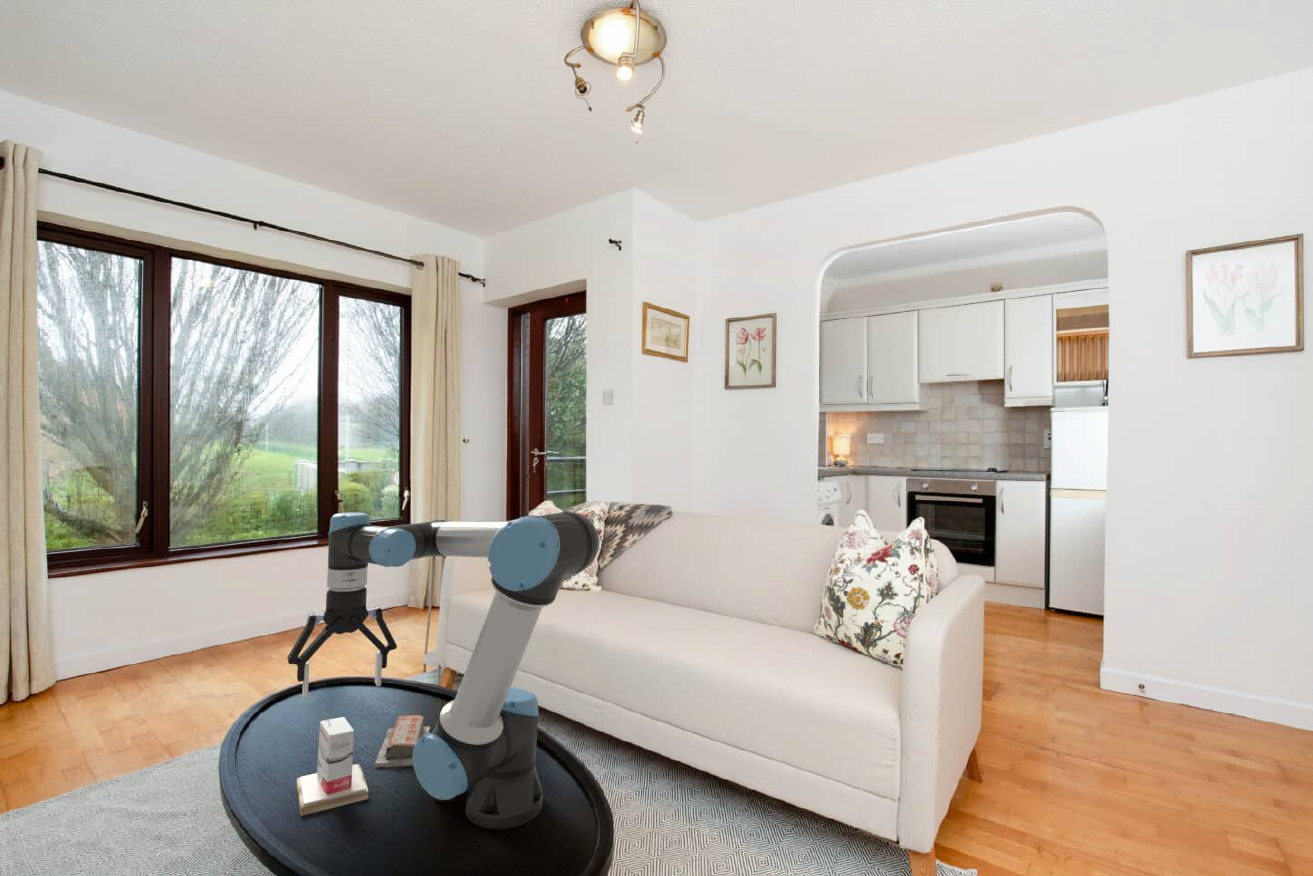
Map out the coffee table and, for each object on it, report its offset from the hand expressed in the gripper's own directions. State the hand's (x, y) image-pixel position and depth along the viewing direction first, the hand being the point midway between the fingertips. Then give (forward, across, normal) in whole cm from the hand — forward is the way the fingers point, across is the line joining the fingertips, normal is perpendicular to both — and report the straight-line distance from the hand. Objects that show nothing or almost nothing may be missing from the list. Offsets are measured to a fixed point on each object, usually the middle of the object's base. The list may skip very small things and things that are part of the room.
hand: (342, 690), depth 129 cm
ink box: (+19, -1, 0) cm, 19 cm away
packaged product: (+22, +16, +13) cm, 30 cm away
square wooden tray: (+21, -1, 0) cm, 21 cm away
